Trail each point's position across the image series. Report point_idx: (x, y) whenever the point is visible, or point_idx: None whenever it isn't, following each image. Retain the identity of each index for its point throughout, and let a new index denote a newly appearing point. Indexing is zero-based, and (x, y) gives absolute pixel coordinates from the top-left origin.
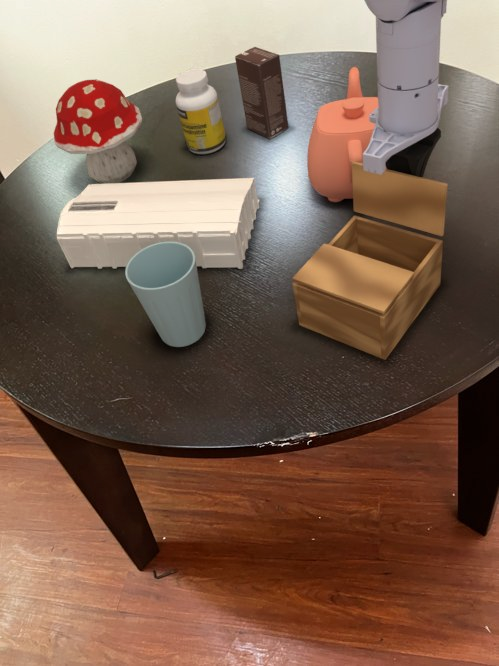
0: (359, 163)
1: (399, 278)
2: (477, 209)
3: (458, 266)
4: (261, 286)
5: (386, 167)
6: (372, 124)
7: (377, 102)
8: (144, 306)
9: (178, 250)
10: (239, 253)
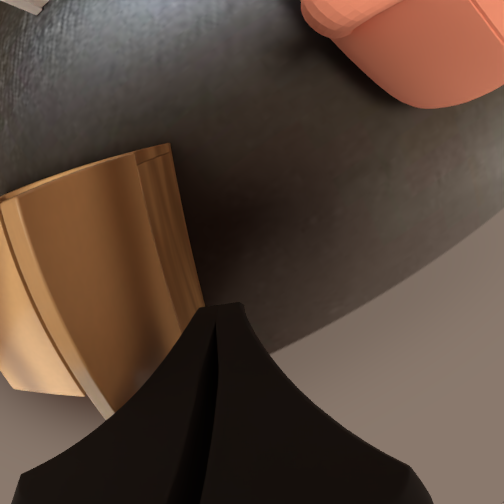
0: (26, 255)
1: (57, 385)
2: (410, 252)
3: (263, 309)
4: (21, 73)
5: (128, 400)
6: (499, 8)
7: None
8: None
9: None
10: (20, 4)
